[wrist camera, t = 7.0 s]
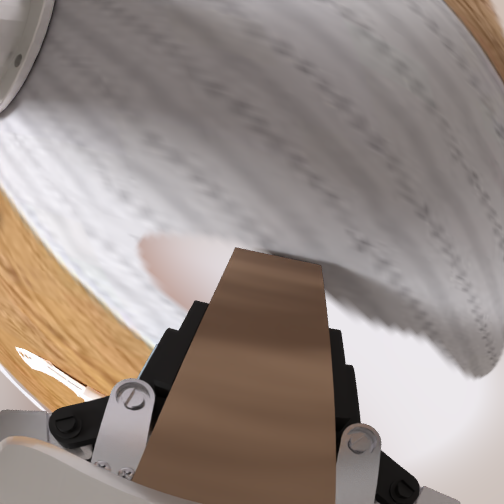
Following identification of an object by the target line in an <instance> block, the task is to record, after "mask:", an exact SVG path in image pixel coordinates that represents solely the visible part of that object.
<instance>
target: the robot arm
mask: <svg viewBox="0 0 504 504" xmlns="http://www.w3.org/2000/svg"><path fill="white" fill-rule="evenodd" d="M54 1H55V0H0V113H1V112H2V111H3V110H4V109H5V108H6V107H7V106H8V105H9V104H10V102H11V101H12V100H13V99H14V97H15V96H16V94H17V92H18V91H19V89H20V88H21V86H22V85H23V83H24V81H25V79H26V77H27V75H28V73H29V72H30V70H31V68H32V66H33V63H34V61H35V59H36V57H37V55H38V52H39V50H40V47H41V45H42V42H43V40H44V37H45V35H46V31H47V28H48V25H49V22H50V19H51V15H52V11H53V6H54ZM208 306H209V304H208V303H204V302H200V301H194V303H193V305H192V306H191V308H190V310H189V312H188V314H187V316H186V318H185V320H184V322H183V323H182V325H181V327H180V329H179V331H178V330H174V329H171V328H168V329H167V330H166V331H165V333H164V335H163V337H162V338H161V340H160V342H159V344H158V345H157V347H156V349H155V351H154V352H153V354H152V356H151V358H150V360H149V361H148V363H147V365H146V367H145V369H144V370H143V372H142V374H141V376H140V378H139V379H132V378H130V379H124V380H122V381H120V382H118V383H117V384H116V385H115V386H114V387H113V389H112V391H111V394H110V396H106V397H102V398H99V399H95V400H91V401H87V402H83V403H79V404H75V405H70V406H66V407H62V408H59V409H57V410H56V411H54V412H53V413H47V412H46V411H21V410H2V411H1V412H0V504H201V503H197V502H193V501H190V500H186V499H182V498H179V497H175V496H172V495H169V494H166V493H163V492H160V491H157V490H154V489H151V488H148V487H146V486H143V485H140V484H138V483H135V482H133V481H132V479H133V476H134V474H135V472H136V469H137V467H138V464H139V462H140V460H141V457H142V455H143V453H144V450H145V448H146V446H147V443H148V441H149V439H150V436H151V434H152V432H153V429H154V427H155V425H156V422H157V420H158V418H159V415H160V413H161V411H162V408H163V406H164V404H165V401H166V399H167V397H168V395H169V392H170V390H171V388H172V386H173V383H174V381H175V379H176V376H177V374H178V372H179V370H180V367H181V365H182V363H183V361H184V359H185V356H186V354H187V352H188V350H189V347H190V345H191V343H192V341H193V338H194V336H195V334H196V332H197V330H198V327H199V325H200V323H201V321H202V319H203V316H204V314H205V312H206V310H207V308H208ZM329 336H330V347H331V359H332V373H333V388H334V407H335V433H336V500H335V504H460V502H459V501H458V500H456V499H454V498H451V497H449V496H446V495H444V494H442V493H439V492H437V491H435V490H433V489H430V488H428V487H426V486H424V487H420V486H419V483H418V481H417V480H416V479H415V477H414V476H412V475H411V474H410V473H408V472H407V471H406V470H405V469H403V468H402V467H401V466H400V465H398V464H397V463H396V462H395V461H393V460H392V459H391V458H390V457H389V456H387V455H386V454H385V453H384V452H382V451H381V438H380V436H379V434H378V432H377V431H376V430H375V429H374V428H372V427H371V426H369V425H366V424H362V423H361V422H360V412H359V403H358V395H357V387H356V380H355V372H354V368H353V366H352V365H346V364H345V356H344V348H343V342H342V334H341V331H340V330H337V329H331V328H329Z"/></svg>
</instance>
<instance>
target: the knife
mask: <svg viewBox="0 0 504 504" xmlns="http://www.w3.org/2000/svg"><path fill="white" fill-rule="evenodd" d="M16 349H17V351H18V353H19V354H20V352H22V353H23V355H24V357H23V356H22V355H21V354H20V356H21V357H22V359H23V360H24V361H25V362H26V363H27V364H28V365H29V366H30V367H31V368H32V369H35V370H38V371H41V372H44V373H46V374H48V375H50V376H52V377H54V378H55V379H57V380H59V381H60V382H62V383H63V384H65V385H66V386H68V387H69V388H70V389H72V390H73V391H74V392H75V393H76V394H77V396H78V397H80V396H81V398H83V399H84V401H85V402H87V401H91V400H95V399H99V398H102V397H106V396H105V395H103V394H101V393H100V392H98V391H96V390H94V389H93V388H91V387H89V386H87V387H85V386H83V385H82V384H80V383H79V382H77V381H76V380H74V379H72V378H71V377H69V376H68V375H66V374H65V373H63V372H62V371H60V370H59V369H58V368H56V367H55V366H54V365H53V364H52V363H51V362H49V361H48V360H45V359H43V358H41V357H39V356H37V355H35V354H33V353H31V352H29V351H27V350H24V349H21V348H18V347H16ZM19 351H20V352H19ZM25 354H26V355H27V356H28V357H29V358H27V357H26V355H25ZM30 357H31V358H30Z"/></svg>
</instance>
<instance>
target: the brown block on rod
mask: <svg viewBox="0 0 504 504" xmlns="http://www.w3.org/2000/svg"><path fill="white" fill-rule="evenodd" d="M132 481H133V482H135V483H138V484H140V485H143V486H146V487H148V488H151V489H154V490H157V491H160V492H163V493H166V494H169V495H172V496H175V497H179V498H182V499H186V500H190V501H193V502H197V503H201V504H335V500H336V433H335V407H334V388H333V373H332V359H331V347H330V336H329V327H328V318H327V307H326V299H325V290H324V282H323V275H322V267H321V265H317V264H313V263H308V262H303V261H298V260H293V259H289V258H284V257H279V256H274V255H269V254H265V253H260V252H255V251H250V250H246V249H241V248H236V247H235V249H234V252H233V254H232V256H231V258H230V260H229V262H228V265H227V267H226V269H225V271H224V273H223V276H222V277H221V279H220V282H219V284H218V286H217V288H216V290H215V292H214V295H213V297H212V299H211V301H210V303H209V306H208V308H207V310H206V312H205V314H204V316H203V319H202V321H201V323H200V325H199V327H198V330H197V332H196V334H195V336H194V338H193V341H192V343H191V345H190V347H189V350H188V352H187V354H186V356H185V359H184V361H183V363H182V365H181V367H180V370H179V372H178V374H177V376H176V379H175V381H174V383H173V386H172V388H171V390H170V392H169V395H168V397H167V399H166V401H165V404H164V406H163V408H162V411H161V413H160V415H159V418H158V420H157V422H156V425H155V427H154V429H153V432H152V434H151V436H150V439H149V441H148V443H147V446H146V448H145V450H144V453H143V455H142V457H141V460H140V462H139V464H138V467H137V469H136V472H135V474H134V476H133V479H132Z"/></svg>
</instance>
